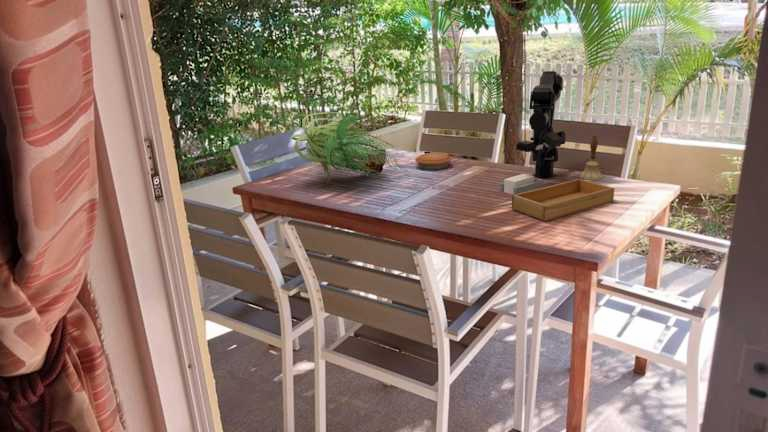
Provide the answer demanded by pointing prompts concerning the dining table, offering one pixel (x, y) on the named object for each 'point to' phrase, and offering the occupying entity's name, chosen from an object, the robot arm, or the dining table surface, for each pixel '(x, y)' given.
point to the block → (517, 182)
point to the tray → (562, 199)
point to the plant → (344, 147)
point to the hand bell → (592, 163)
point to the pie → (433, 161)
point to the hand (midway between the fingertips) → (540, 166)
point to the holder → (524, 187)
